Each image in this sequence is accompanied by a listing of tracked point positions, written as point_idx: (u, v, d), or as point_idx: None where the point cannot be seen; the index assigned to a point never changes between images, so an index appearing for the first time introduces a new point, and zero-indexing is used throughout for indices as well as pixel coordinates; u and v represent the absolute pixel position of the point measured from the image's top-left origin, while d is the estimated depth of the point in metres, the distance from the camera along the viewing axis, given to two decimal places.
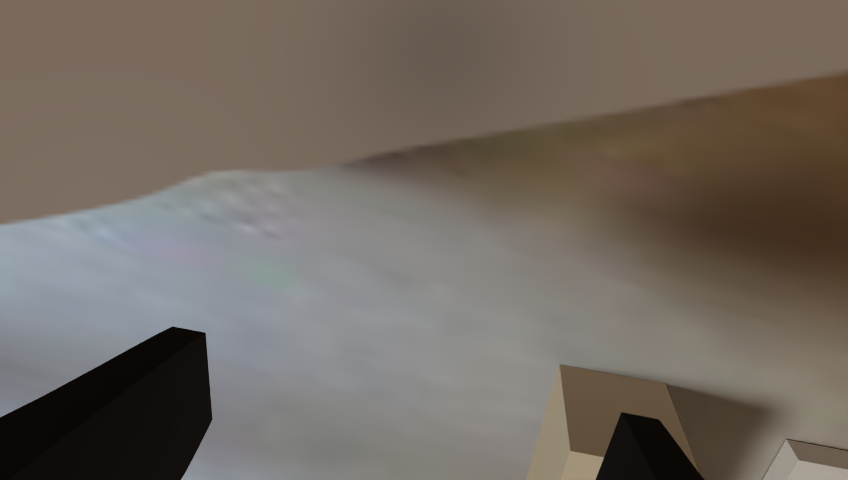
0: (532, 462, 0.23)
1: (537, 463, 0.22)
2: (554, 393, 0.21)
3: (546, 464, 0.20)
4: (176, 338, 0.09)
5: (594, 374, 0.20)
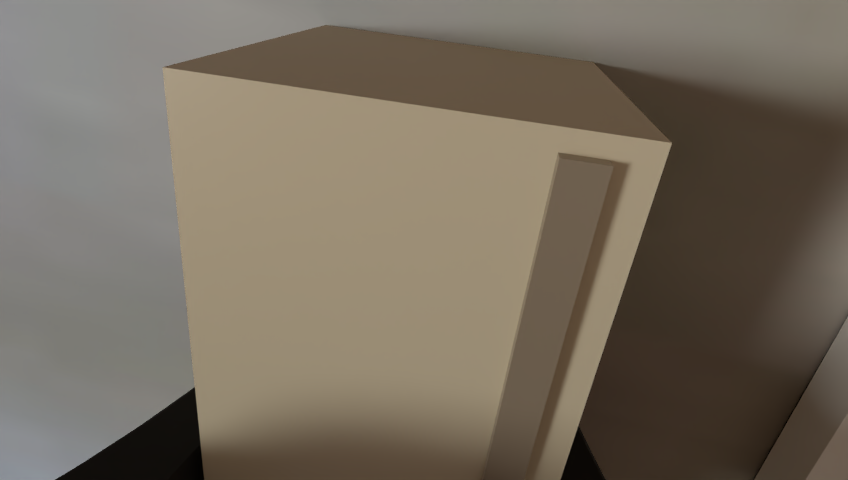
0: None
1: None
2: None
3: None
4: None
5: (408, 38, 0.08)
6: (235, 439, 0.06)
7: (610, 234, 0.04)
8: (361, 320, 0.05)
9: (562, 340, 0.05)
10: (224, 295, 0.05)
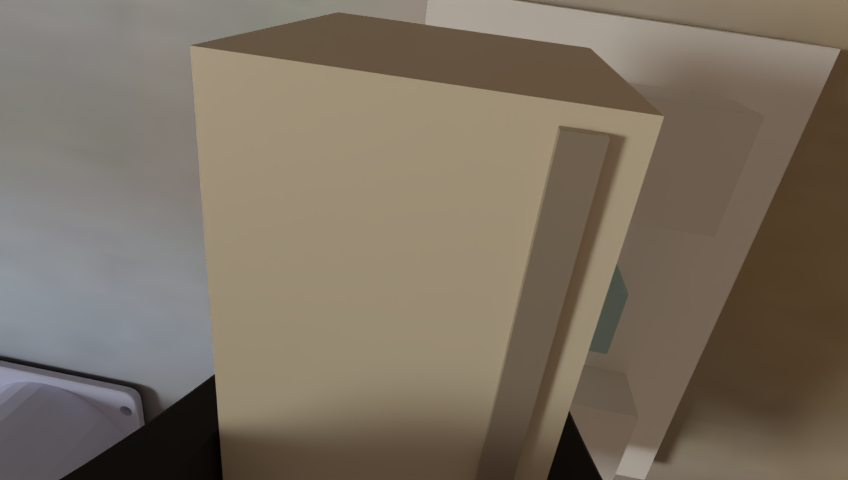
0: None
1: None
2: None
3: None
4: None
5: (414, 26, 0.08)
6: (251, 404, 0.06)
7: (607, 203, 0.05)
8: (373, 287, 0.05)
9: (562, 305, 0.05)
10: (243, 264, 0.06)
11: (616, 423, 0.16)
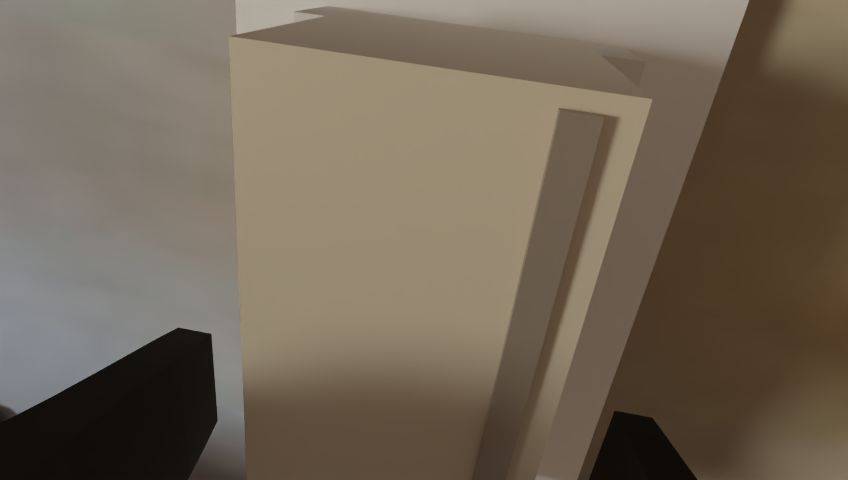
0: None
1: None
2: None
3: None
4: (182, 338, 0.09)
5: (424, 23, 0.09)
6: (274, 370, 0.07)
7: (602, 178, 0.05)
8: (389, 258, 0.06)
9: (561, 272, 0.06)
10: (271, 237, 0.06)
11: None
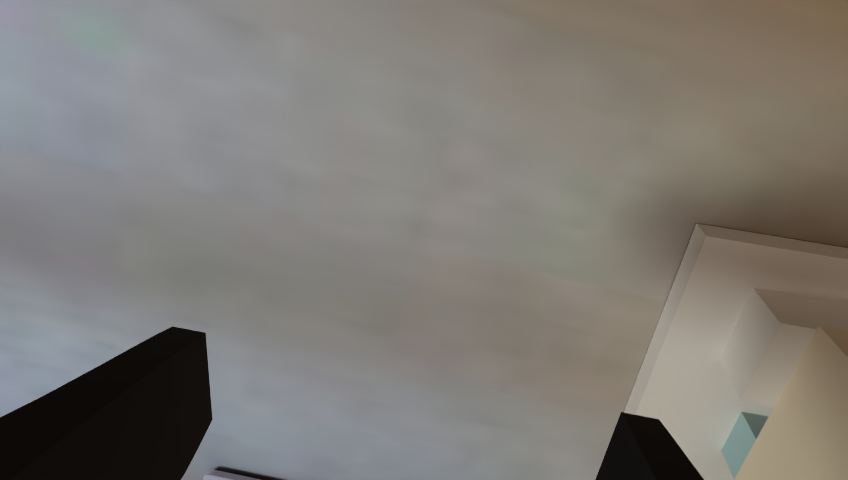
0: (754, 462, 0.17)
1: (776, 463, 0.16)
2: (817, 369, 0.15)
3: (816, 465, 0.15)
4: (176, 338, 0.09)
5: None
6: None
7: None
8: None
9: None
10: None
11: None
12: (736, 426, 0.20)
